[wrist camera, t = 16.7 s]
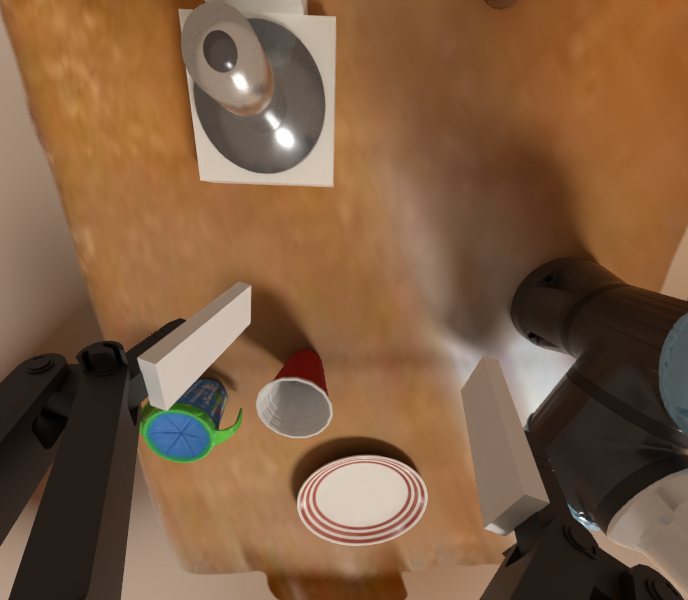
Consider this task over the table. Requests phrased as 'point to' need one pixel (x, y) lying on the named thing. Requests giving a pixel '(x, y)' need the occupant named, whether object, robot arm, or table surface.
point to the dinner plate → (362, 500)
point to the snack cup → (188, 423)
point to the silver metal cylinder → (232, 65)
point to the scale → (320, 39)
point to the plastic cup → (296, 398)
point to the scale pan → (300, 119)
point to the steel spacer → (501, 3)
